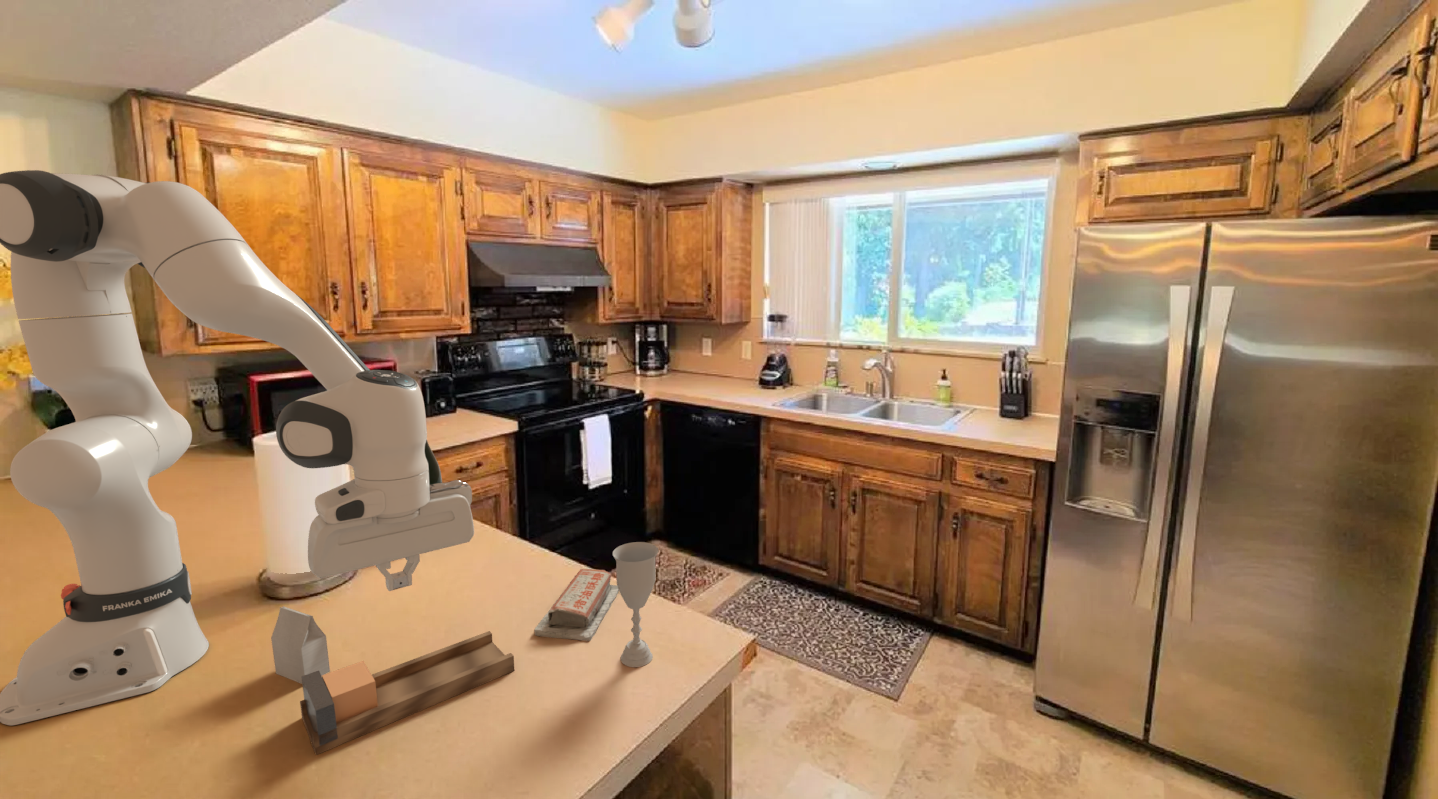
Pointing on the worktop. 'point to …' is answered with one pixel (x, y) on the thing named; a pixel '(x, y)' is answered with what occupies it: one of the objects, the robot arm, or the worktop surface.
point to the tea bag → (298, 645)
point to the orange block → (351, 690)
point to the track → (420, 686)
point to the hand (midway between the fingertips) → (399, 586)
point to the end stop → (319, 705)
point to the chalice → (635, 593)
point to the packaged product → (579, 607)
